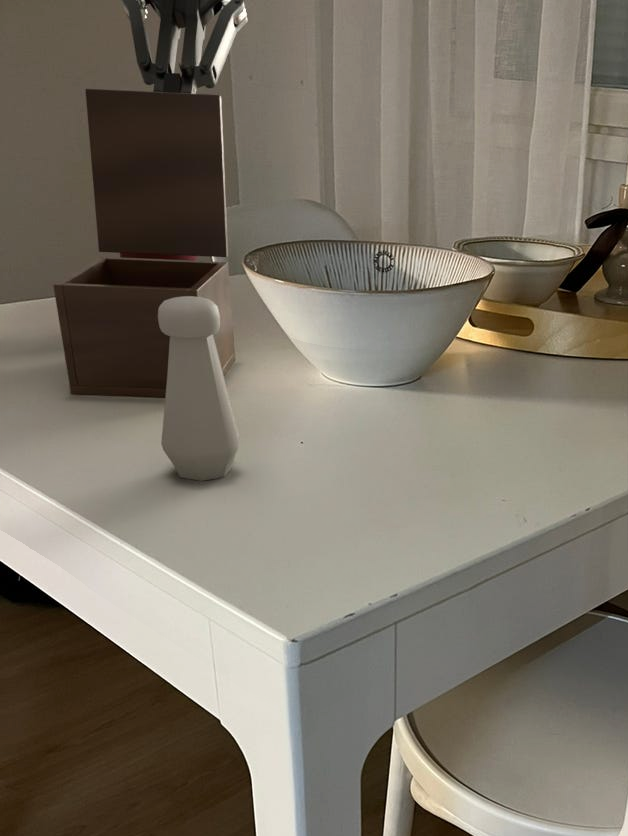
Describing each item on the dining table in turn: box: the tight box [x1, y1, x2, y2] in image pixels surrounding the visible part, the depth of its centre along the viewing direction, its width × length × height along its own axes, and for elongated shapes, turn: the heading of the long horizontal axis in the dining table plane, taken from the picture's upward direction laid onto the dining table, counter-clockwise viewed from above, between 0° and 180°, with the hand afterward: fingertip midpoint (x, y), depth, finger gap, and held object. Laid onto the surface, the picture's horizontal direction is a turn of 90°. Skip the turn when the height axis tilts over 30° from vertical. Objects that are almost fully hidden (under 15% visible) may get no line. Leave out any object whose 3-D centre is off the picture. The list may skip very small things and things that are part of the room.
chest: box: [53, 256, 236, 398], centre depth 99 cm, size 14×13×10 cm
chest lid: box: [84, 88, 229, 258], centre depth 100 cm, size 14×13×1 cm
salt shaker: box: [158, 296, 240, 482], centre depth 77 cm, size 6×6×13 cm
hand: (169, 137), depth 103 cm, fingers closed
